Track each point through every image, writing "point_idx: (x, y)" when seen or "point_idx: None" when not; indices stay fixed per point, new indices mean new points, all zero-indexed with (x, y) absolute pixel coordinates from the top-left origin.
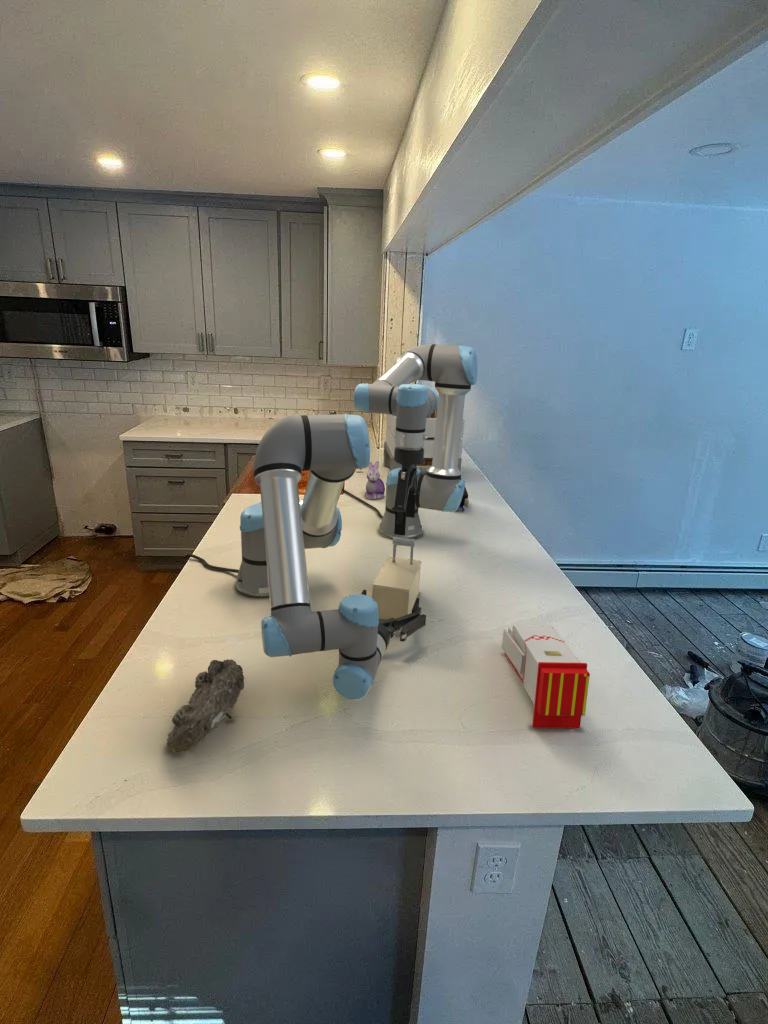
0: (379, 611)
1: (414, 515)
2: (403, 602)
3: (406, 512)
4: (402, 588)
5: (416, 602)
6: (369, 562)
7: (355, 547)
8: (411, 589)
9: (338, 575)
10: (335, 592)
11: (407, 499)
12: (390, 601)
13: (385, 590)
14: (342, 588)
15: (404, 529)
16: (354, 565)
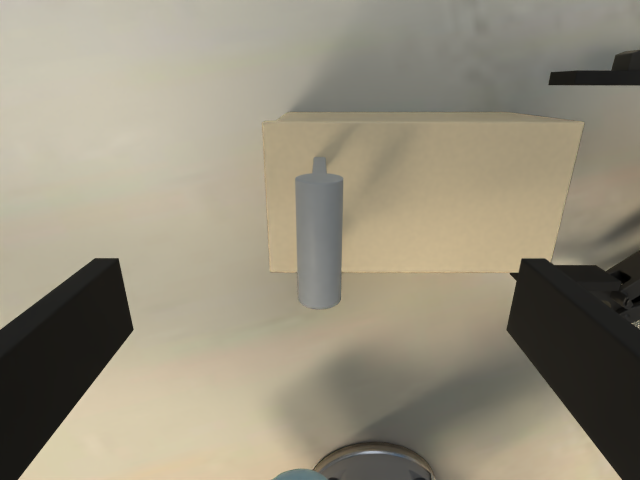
0: None
1: (97, 265)
2: None
3: (112, 340)
4: (576, 153)
5: (618, 77)
6: (135, 310)
7: None
8: (511, 119)
9: (260, 365)
10: (362, 346)
11: (24, 445)
12: None
13: None
14: (333, 336)
15: (575, 286)
16: (178, 344)
